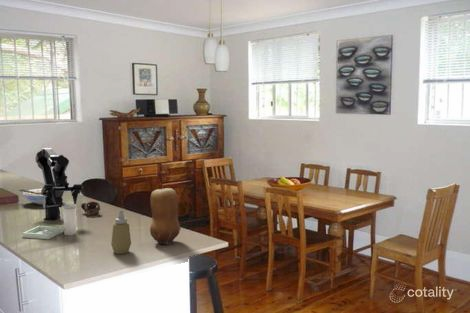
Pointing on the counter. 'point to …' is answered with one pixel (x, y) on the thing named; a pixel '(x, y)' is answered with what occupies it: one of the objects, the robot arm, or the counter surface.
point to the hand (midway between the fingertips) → (65, 204)
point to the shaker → (69, 219)
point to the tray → (39, 230)
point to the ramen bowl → (34, 196)
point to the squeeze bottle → (121, 235)
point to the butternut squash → (164, 215)
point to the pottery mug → (90, 207)
